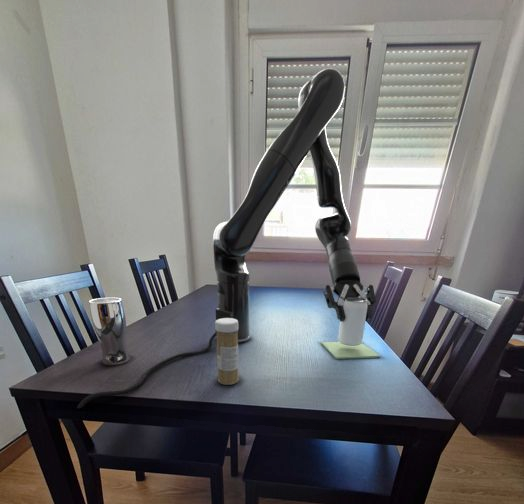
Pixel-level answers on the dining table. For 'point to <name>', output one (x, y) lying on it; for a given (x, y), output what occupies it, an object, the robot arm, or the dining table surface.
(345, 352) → the can mat
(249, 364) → the dining table surface
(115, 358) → the beer glass
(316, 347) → the dining table surface
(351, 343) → the can
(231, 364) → the sprinkles bottle
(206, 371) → the dining table surface
